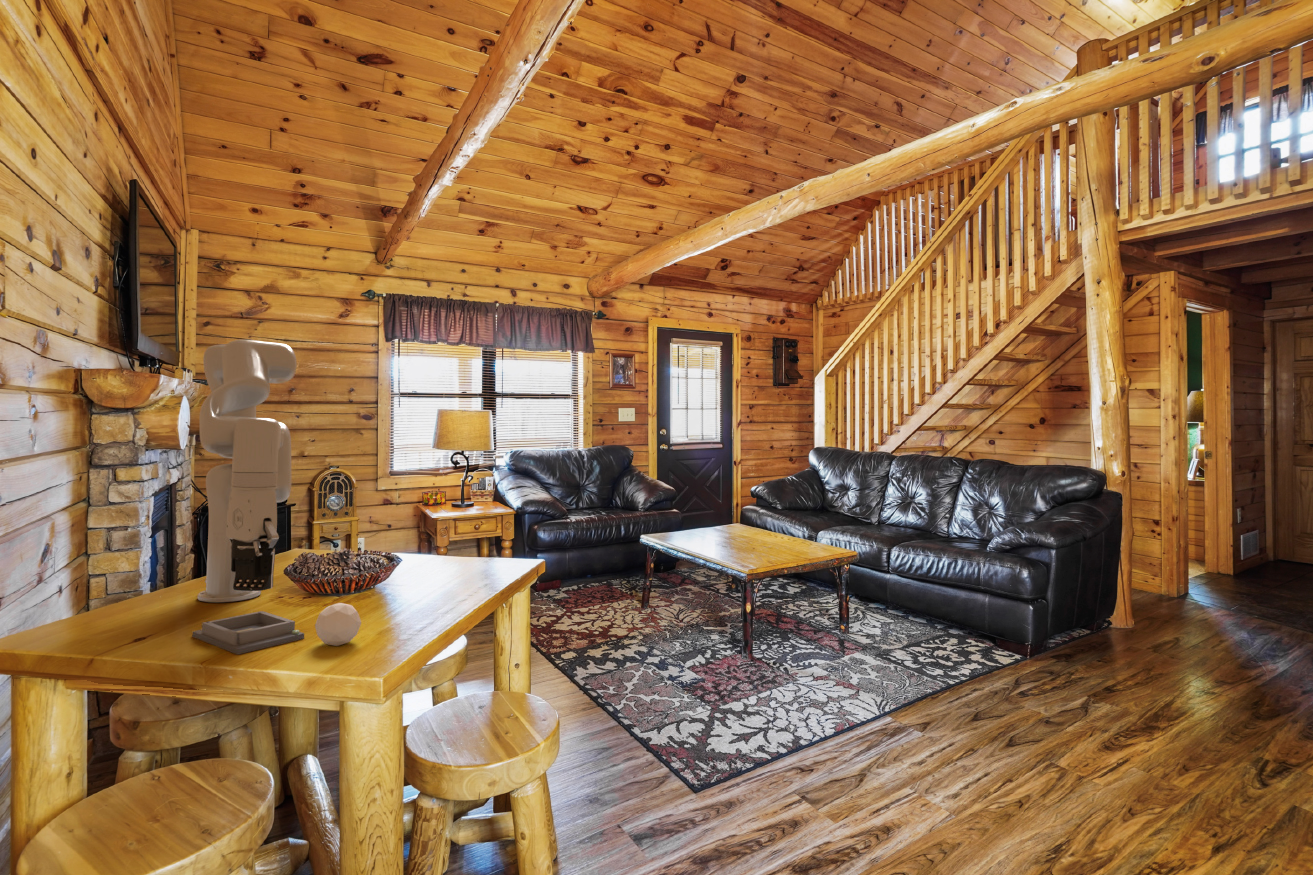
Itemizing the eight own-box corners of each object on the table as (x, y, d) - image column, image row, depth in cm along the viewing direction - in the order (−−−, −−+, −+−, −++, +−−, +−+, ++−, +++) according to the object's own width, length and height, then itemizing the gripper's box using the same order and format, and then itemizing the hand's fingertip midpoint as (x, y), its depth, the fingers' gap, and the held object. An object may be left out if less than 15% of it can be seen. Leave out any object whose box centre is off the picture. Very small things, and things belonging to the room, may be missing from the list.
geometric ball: (341, 660, 122) (340, 634, 118) (306, 642, 124) (304, 615, 119) (370, 631, 128) (369, 605, 124) (336, 614, 130) (335, 588, 125)
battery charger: (226, 591, 123) (228, 531, 123) (239, 587, 127) (241, 529, 127) (263, 592, 123) (265, 532, 123) (275, 588, 127) (277, 529, 127)
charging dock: (192, 636, 125) (193, 620, 125) (257, 622, 135) (258, 608, 135) (237, 654, 116) (238, 637, 116) (304, 638, 126) (304, 622, 126)
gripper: (211, 479, 127) (207, 570, 127) (258, 484, 118) (254, 582, 117) (251, 478, 133) (248, 565, 133) (299, 483, 124) (295, 576, 124)
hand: (251, 572), depth 125 cm, fingers closed on battery charger, 7 cm apart
